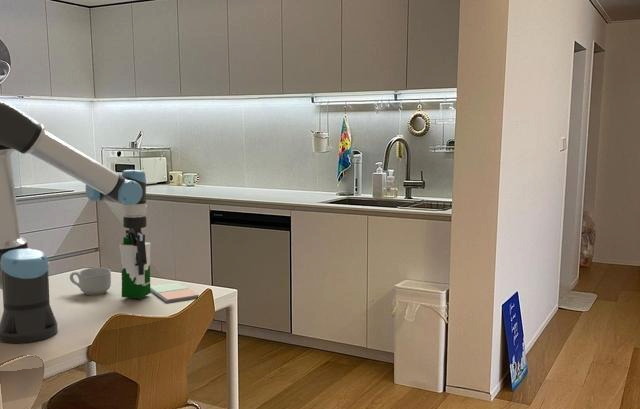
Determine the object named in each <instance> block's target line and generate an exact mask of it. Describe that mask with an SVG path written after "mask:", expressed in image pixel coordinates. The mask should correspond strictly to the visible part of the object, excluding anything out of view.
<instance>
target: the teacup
mask: <svg viewBox="0 0 640 409" xmlns="http://www.w3.org/2000/svg"><path fill="white" fill-rule="evenodd" d="M111 272H112V271H111V269H109V268H107V267H90V268H84V269H82V270H80V271H79V272H78V271H73V272H71V273H70V275H69V280H70V282H71V283H72V284H74V285H75V286H77V287H78V288H79V290H80V291H81V292H82V293H83V294H85V295H87V296H99V295H104V294H105V293H106V292H107V291H108V290H110V288H111V285H112V274H111ZM74 275H75V276H77V279H78V281H77V280H75V279H74Z"/></svg>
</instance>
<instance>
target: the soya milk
mask: <svg viewBox="0 0 640 409" xmlns="http://www.w3.org/2000/svg"><path fill="white" fill-rule="evenodd" d="M122 238H123V242H122V243H121V244H119V246H118V247H119V252H120V257H121V260H120V262H121V298H126V299H127V298H131V299H139V300H140V299H142V298H144V297H146V296H148V295H150V294H151V292H150V286H151V246H152V242H146V241H145V248H146V259H147V264H145V265H144V267H145V284H139V285H136V266H135V264H137V262H136V253H138V252H137V246H134V245H132V240H131V238H128V237H126V236H124V237H122ZM141 261H142V260H141Z"/></svg>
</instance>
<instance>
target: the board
mask: <svg viewBox="0 0 640 409" xmlns="http://www.w3.org/2000/svg"><path fill="white" fill-rule="evenodd" d="M150 294H153V295H154V296H155V297H157V298H158V299H160V300H161V301H162V302H164V303H165V304H169V303H176V302H177V303H178V302H182V301H183V302H184V301H190V300H196V299H198V298H197V297H198V296H199V295H200V294H199V293H197V292H195V291H194V290H191V289H190V288H189V287H188V286H185V285H184V284H181V282H172V283H164V284H159V285H158V284H157V285H150ZM195 298H196V299H195Z"/></svg>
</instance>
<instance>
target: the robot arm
mask: <svg viewBox="0 0 640 409" xmlns="http://www.w3.org/2000/svg"><path fill="white" fill-rule="evenodd" d="M15 151H17V152H19V153H20V154H23V155H25V154H30V155H32V156H34V157H36V158H37V159H39V160H41V161H43V162H45V163H46V164H48V165H50V166H52V167H53V168H56V169H57V170H59V171H61V172H63V173H64V174H66V175H68V176H71V177H72V178H73V179H76V180H77V181H79V182H81V183H83V184H85V194H86V196H87V199H88V200H89V201H91V202H102V201H106V202H112V203H116V204H117V203H118V204H121V205H122V215H123V217H122V219H123V220H122V226H123V228H125V237H128V238H131V240H132V245H134V246H137V252H138V253H136V262H137V264H135V266H136V285H139V284H145V267H144V265H145V264H147V259H146V248H145V242H146V234H144V233H143V232H142V228H143V229H144V228H146V227H147V225H148V224H147V217H146V214H147V209H148V204H147V179H146V178H147V177H146V172H145V171H144V170H142V169H126V170H125V169H124V170H122V172H121V174H118V173H117V172H115V171H114V170H112V169H111V168H109V167H108V166H106V165H103V164H102V163H100V162H99V161H97V160H95V159H94V158H92V157H90V156H89V155H87V154H86V153H84V152H82V151H80V150H79V149H77V148H75V147H73V146H72V145H70V144H68V143H66V142H65V141H63V139H60V138H59V137H57V136H55V135H54V134H52V133H50V132H49V131H47V130H45V129H44V125H43V124H42V123H41V122H39V121H37V120H36V119H34V118H33V117H32V116H30V115H28V114H27V113H25V112H23V111H22V110H20V109H18V108H17V107H16V106H14V105H12V104H10V103H7V102H4V101H0V289H1V291H2V304H3V311H2V314H1V318H0V342H3V343H5V344H25V343H27V344H28V343H33V342H38V341H42V340H45V339H48V338H50V337H53V336H55V335H56V334H57V333H58V330H59V328H58V321H57V319H56V316H55V315H54V312H53V310H52V307H51V304H50V287H49V286H50V282H49V277H50V276H49V262H48V257H47V256H48V255H47V254H46V253H44V252H43V250H42V251H41V250H38V249H32V248H29V246H28V240H27V239H25V238H24V237H23V236H21V229H20V222H19V213H18V212H19V211H18V204H17V197H16V190H15V189H16V188H15V180H14V173H13V165H12V157H11V156H12V154H13V153H14V152H15ZM141 260H142V261H141Z"/></svg>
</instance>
